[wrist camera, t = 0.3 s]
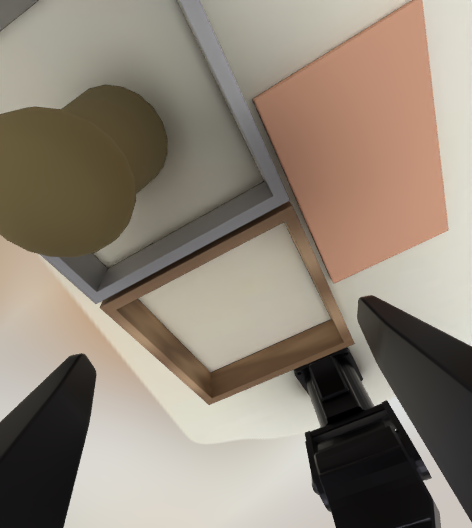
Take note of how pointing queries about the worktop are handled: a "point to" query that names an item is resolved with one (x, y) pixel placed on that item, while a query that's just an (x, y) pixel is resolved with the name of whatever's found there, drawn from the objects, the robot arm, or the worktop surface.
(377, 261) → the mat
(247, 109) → the charcoal bin
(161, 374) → the worktop surface
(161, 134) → the cork
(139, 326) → the walnut bin
